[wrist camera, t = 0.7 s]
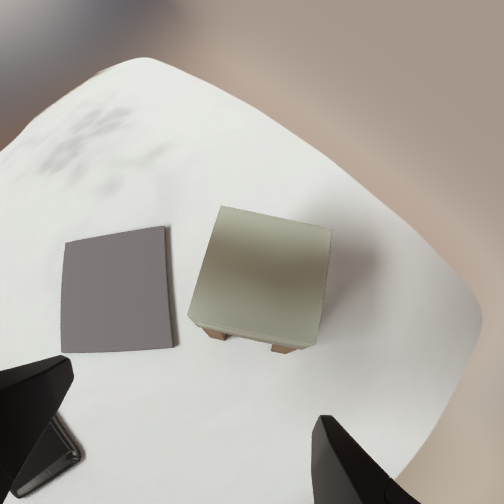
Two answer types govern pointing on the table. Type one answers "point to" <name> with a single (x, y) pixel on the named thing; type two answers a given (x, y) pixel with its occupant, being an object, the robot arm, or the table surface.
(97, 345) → the mat
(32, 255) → the table surface
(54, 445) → the phone
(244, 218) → the stool
